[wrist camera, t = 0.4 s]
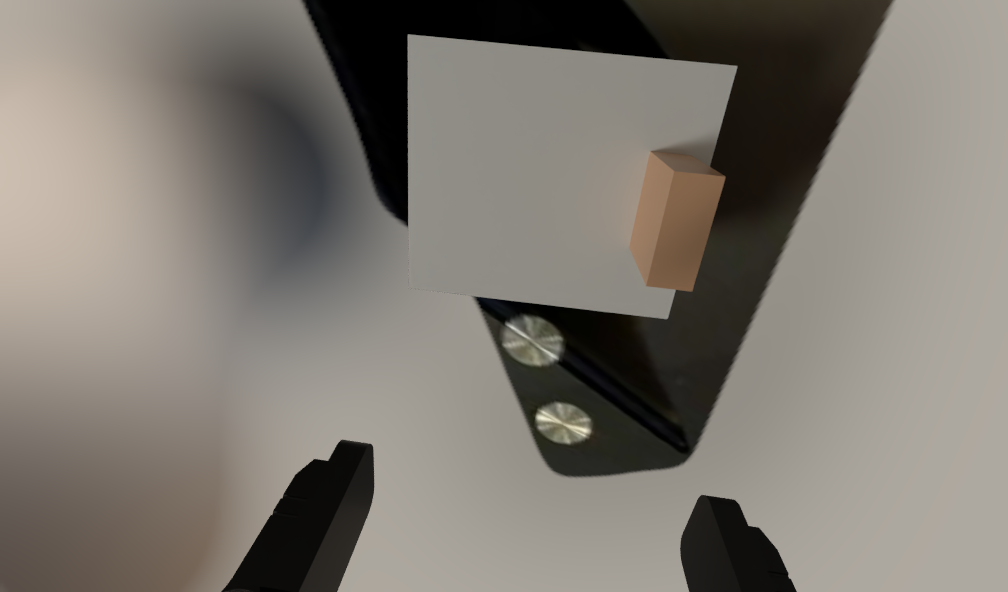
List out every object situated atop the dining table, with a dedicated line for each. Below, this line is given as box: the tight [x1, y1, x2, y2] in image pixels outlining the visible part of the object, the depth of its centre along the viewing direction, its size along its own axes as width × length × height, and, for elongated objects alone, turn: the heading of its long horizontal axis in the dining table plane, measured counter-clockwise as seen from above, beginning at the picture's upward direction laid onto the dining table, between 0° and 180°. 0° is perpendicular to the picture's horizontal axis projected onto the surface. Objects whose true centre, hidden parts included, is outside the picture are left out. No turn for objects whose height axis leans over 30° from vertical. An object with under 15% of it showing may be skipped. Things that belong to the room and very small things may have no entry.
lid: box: [408, 35, 738, 319], centre depth 23 cm, size 13×15×7 cm
